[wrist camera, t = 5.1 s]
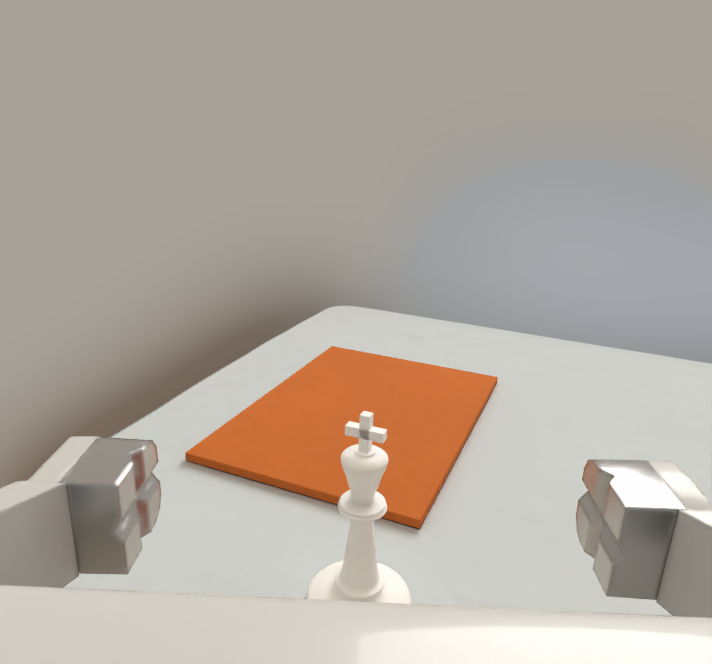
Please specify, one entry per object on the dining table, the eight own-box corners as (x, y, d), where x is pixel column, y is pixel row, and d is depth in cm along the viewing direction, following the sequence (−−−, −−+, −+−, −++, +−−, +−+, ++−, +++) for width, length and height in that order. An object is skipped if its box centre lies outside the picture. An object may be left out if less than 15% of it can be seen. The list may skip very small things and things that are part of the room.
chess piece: (391, 667, 25) (405, 456, 21) (285, 628, 27) (284, 427, 23) (424, 587, 29) (440, 401, 26) (331, 558, 31) (335, 380, 28)
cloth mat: (331, 351, 58) (331, 345, 58) (496, 383, 52) (497, 376, 52) (185, 460, 39) (184, 452, 39) (419, 529, 33) (420, 520, 33)
